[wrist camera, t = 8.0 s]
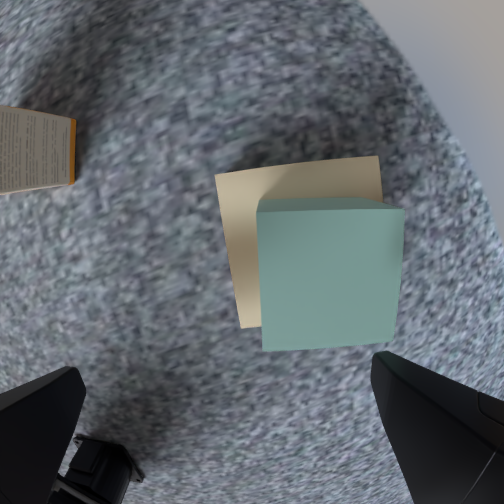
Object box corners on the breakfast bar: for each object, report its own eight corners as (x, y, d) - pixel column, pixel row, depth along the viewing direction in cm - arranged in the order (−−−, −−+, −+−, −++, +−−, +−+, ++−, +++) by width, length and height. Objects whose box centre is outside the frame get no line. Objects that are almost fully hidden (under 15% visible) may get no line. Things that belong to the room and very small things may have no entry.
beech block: (365, 282, 20) (386, 306, 16) (245, 299, 20) (241, 328, 16) (355, 158, 18) (378, 155, 14) (224, 174, 18) (214, 174, 14)
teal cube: (359, 294, 16) (392, 340, 11) (263, 299, 16) (262, 351, 11) (361, 197, 14) (404, 209, 10) (259, 199, 15) (255, 212, 10)
